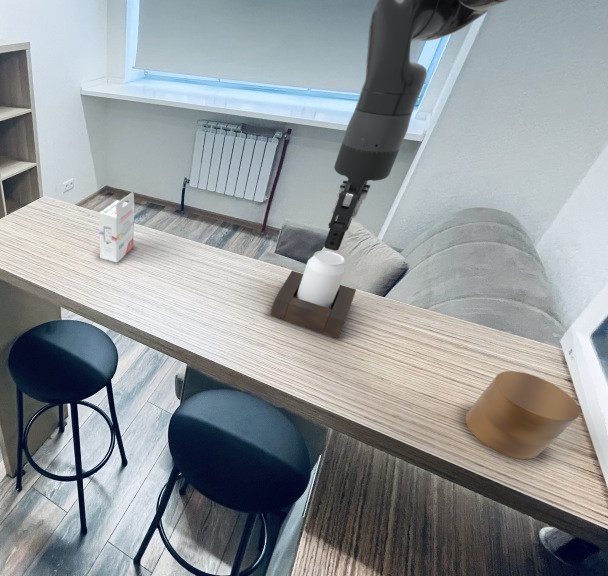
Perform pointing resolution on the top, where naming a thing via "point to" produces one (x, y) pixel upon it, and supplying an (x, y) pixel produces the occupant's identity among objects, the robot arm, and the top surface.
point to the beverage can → (322, 278)
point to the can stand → (312, 308)
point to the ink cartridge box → (117, 229)
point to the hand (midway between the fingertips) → (336, 238)
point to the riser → (521, 414)
